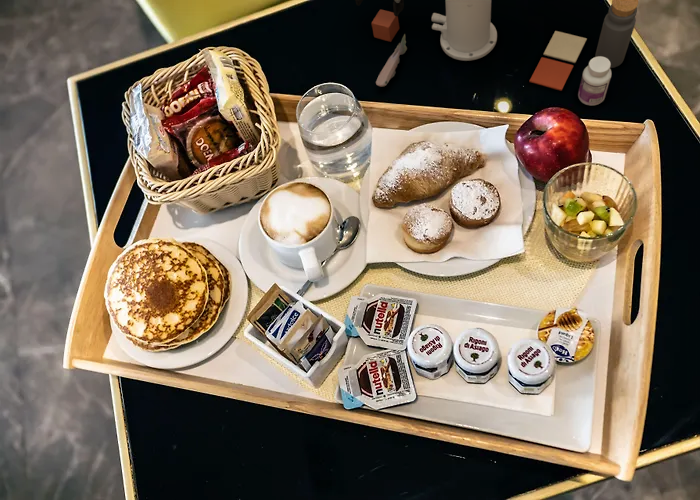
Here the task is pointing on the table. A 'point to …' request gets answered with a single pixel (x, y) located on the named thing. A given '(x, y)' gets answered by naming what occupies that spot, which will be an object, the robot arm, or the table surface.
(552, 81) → the clay pad
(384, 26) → the terracotta block
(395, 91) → the table surface
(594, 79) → the pill bottle
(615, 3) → the bottle
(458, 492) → the table surface
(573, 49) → the cream pad
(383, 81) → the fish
